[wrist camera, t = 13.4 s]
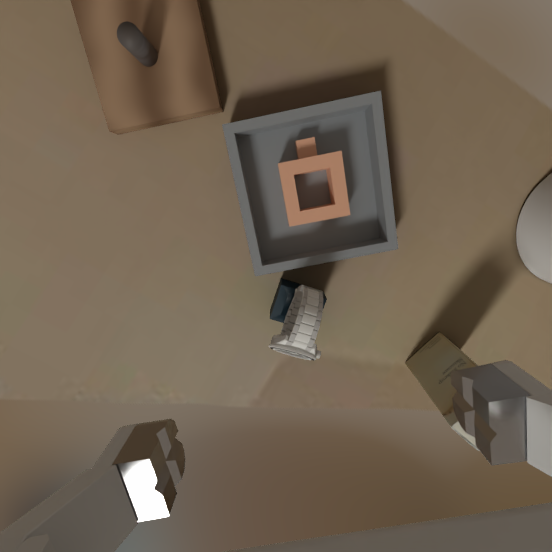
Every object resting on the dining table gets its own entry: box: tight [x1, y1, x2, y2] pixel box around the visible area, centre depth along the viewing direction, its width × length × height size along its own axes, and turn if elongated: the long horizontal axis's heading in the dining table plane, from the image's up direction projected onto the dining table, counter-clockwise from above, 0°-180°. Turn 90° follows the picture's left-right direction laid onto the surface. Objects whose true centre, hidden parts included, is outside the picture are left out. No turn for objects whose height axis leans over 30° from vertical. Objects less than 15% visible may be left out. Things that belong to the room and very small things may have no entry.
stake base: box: [71, 0, 223, 134], centre depth 32 cm, size 12×12×6 cm
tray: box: [222, 91, 398, 276], centre depth 37 cm, size 16×16×4 cm
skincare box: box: [405, 332, 479, 450], centre depth 37 cm, size 6×4×12 cm
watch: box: [269, 278, 327, 360], centre depth 36 cm, size 6×8×11 cm
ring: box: [278, 137, 350, 227], centre depth 36 cm, size 7×9×3 cm
